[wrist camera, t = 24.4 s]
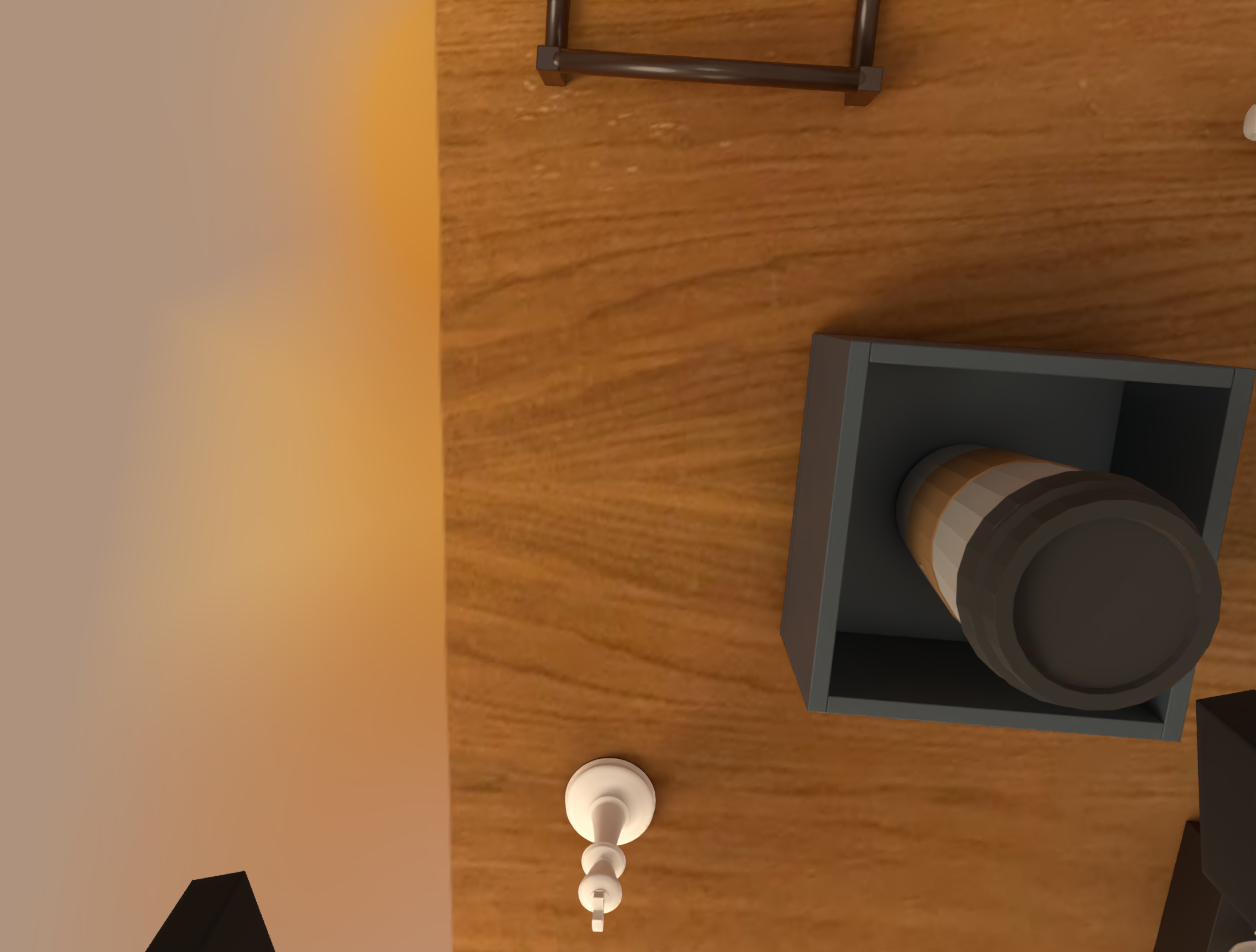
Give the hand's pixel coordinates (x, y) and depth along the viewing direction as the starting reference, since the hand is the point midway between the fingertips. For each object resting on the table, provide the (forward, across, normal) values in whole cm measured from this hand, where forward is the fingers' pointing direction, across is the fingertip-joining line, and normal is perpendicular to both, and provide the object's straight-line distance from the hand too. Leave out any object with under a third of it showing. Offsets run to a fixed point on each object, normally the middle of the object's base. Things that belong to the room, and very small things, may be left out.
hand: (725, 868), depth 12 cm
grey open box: (+32, +14, -8) cm, 36 cm away
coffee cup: (+32, +14, -8) cm, 35 cm away
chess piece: (+32, -6, -21) cm, 39 cm away
